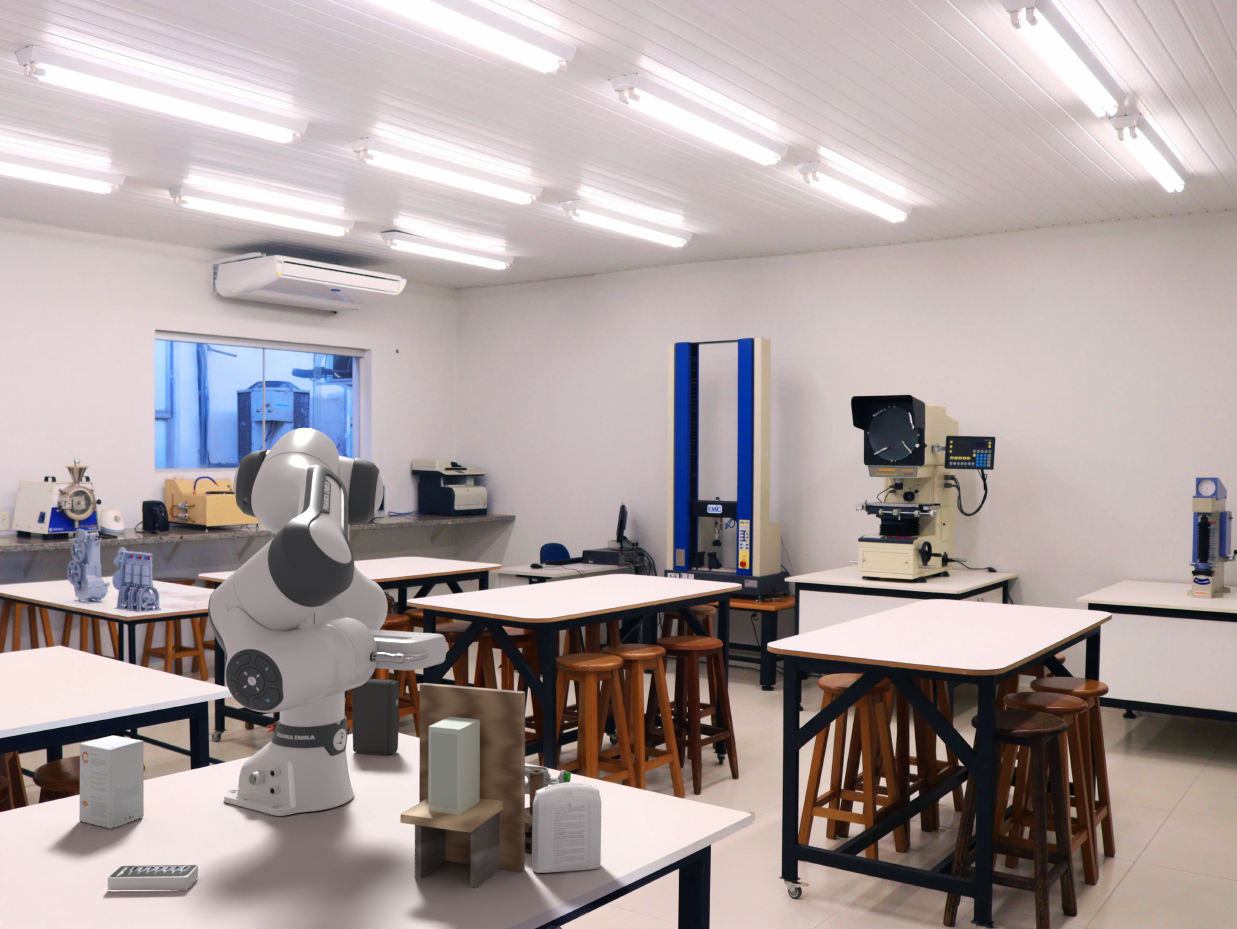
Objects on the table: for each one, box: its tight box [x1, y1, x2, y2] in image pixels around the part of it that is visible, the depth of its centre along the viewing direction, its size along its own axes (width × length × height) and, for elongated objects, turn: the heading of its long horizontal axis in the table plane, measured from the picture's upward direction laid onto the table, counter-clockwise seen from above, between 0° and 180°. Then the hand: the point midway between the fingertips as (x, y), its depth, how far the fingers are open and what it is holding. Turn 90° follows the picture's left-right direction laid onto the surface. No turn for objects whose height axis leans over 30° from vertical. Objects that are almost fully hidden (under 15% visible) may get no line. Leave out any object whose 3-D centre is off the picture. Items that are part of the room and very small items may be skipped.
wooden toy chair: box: [399, 682, 526, 889], centre depth 143 cm, size 17×11×26 cm, turn 70°
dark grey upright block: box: [351, 678, 400, 756], centre depth 205 cm, size 9×4×15 cm, turn 79°
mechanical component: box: [525, 765, 572, 795], centre depth 161 cm, size 3×10×10 cm, turn 78°
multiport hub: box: [107, 864, 199, 891], centre depth 140 cm, size 4×11×2 cm, turn 93°
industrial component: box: [525, 769, 544, 854], centre depth 153 cm, size 9×7×12 cm
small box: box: [78, 735, 145, 830], centre depth 166 cm, size 8×6×13 cm
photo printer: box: [531, 782, 602, 874], centre depth 146 cm, size 10×4×12 cm, turn 103°
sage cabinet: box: [428, 717, 480, 815], centre depth 143 cm, size 5×6×12 cm
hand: (401, 637), depth 135 cm, fingers open, 8 cm apart
